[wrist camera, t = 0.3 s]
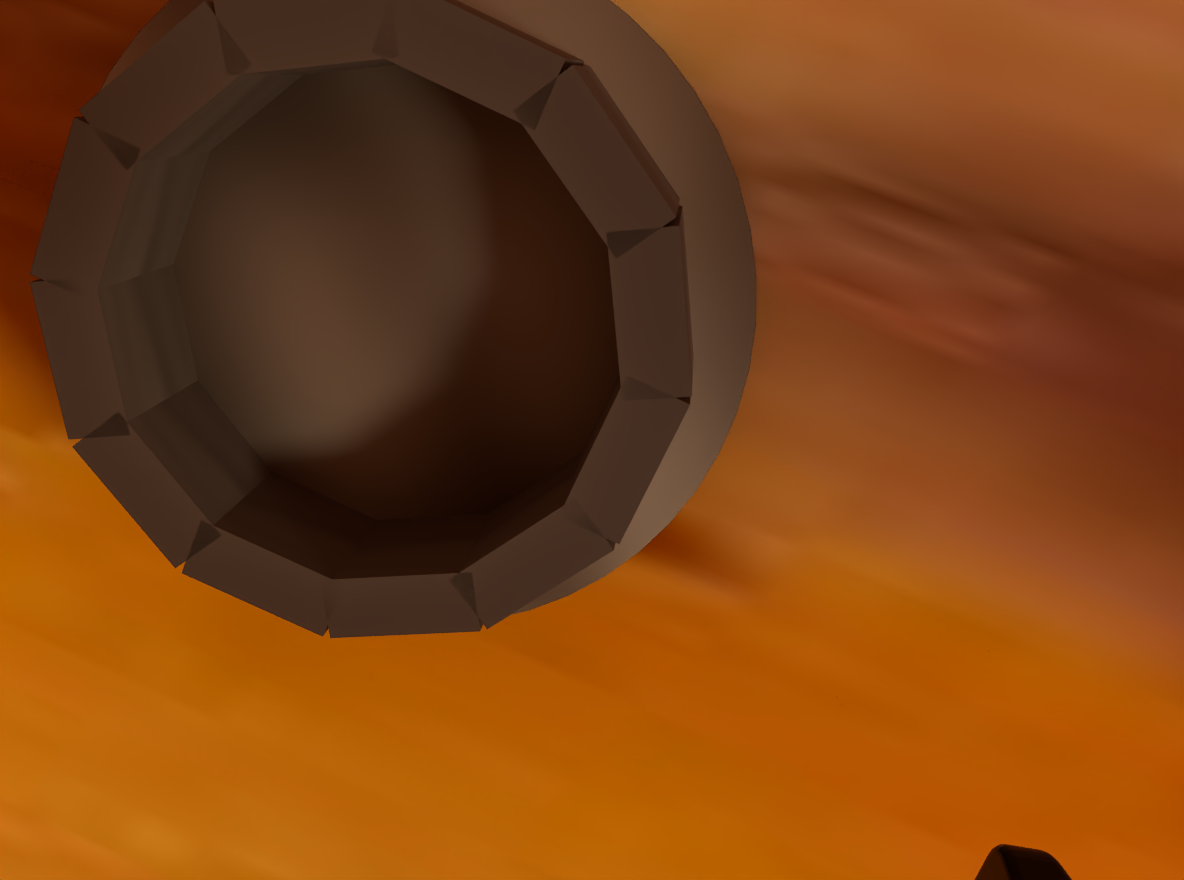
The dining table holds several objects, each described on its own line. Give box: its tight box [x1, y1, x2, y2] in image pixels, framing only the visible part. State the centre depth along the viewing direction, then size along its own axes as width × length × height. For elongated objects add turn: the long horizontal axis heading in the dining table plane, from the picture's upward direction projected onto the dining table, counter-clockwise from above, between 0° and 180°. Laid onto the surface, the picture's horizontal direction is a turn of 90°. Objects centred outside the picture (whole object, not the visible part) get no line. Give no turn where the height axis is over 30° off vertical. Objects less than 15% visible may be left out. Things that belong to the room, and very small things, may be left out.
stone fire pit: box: [30, 0, 756, 638], centre depth 21 cm, size 14×14×4 cm
